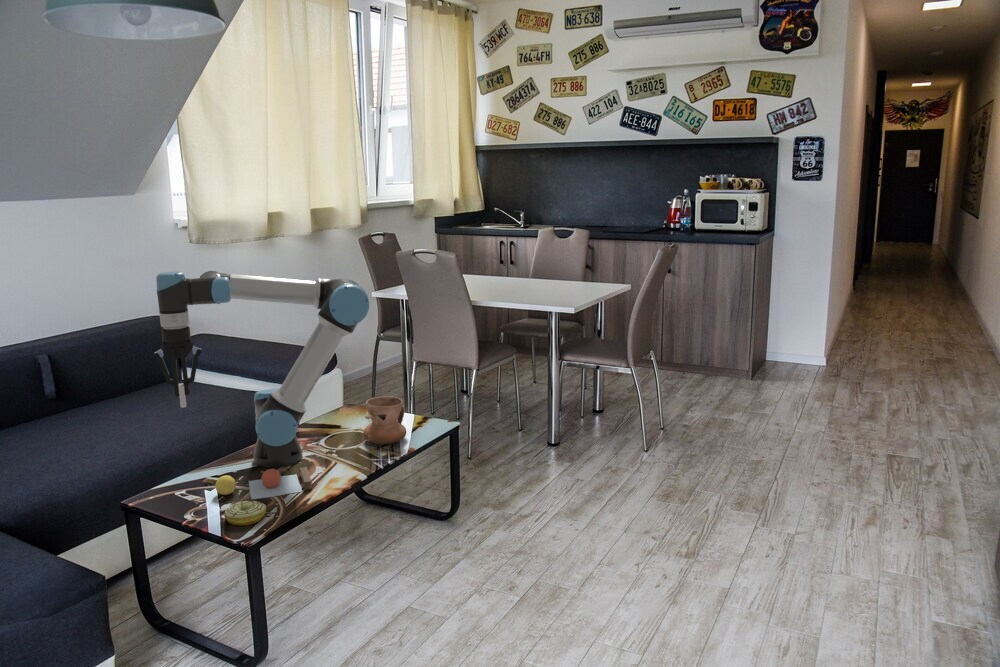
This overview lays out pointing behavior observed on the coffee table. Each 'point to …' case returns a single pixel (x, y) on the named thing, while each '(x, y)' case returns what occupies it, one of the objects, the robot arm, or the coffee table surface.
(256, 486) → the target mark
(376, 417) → the ceramic jug
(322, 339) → the robot arm
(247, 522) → the decorated donut
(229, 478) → the yellow ball
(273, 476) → the object ball
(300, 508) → the coffee table surface
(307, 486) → the stopper strip
